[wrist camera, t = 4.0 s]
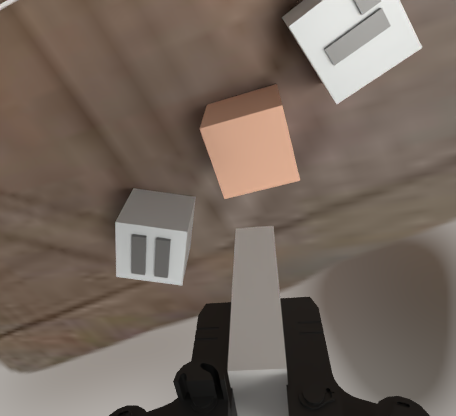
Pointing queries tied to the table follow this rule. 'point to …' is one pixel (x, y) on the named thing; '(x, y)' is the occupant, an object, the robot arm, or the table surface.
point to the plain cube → (249, 142)
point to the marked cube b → (351, 40)
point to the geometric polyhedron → (6, 3)
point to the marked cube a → (154, 236)
